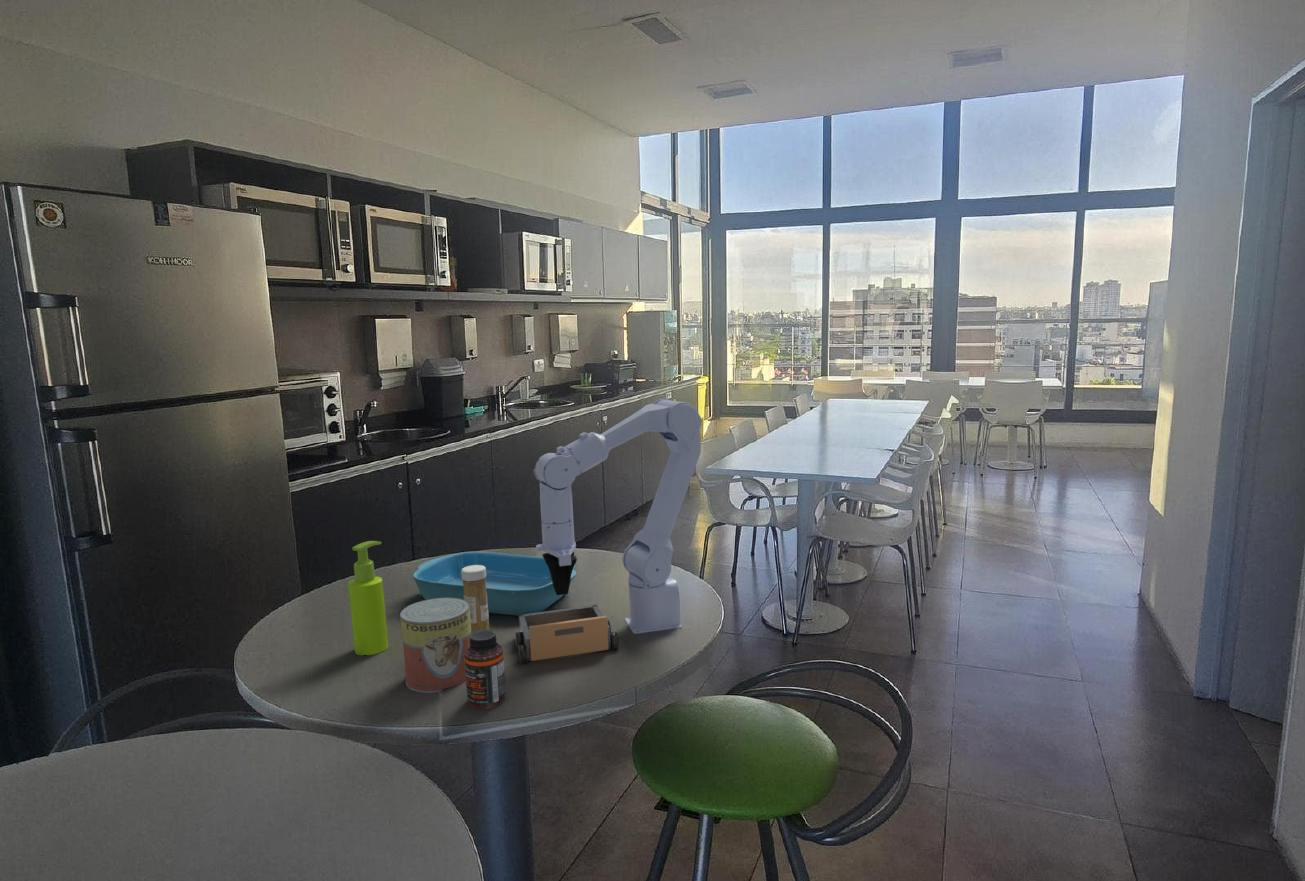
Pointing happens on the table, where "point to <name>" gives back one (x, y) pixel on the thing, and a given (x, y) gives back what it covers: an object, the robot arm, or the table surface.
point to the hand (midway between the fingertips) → (561, 592)
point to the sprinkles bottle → (476, 596)
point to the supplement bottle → (484, 671)
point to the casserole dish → (492, 580)
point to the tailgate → (568, 638)
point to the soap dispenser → (367, 605)
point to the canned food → (435, 643)
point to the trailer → (553, 617)
